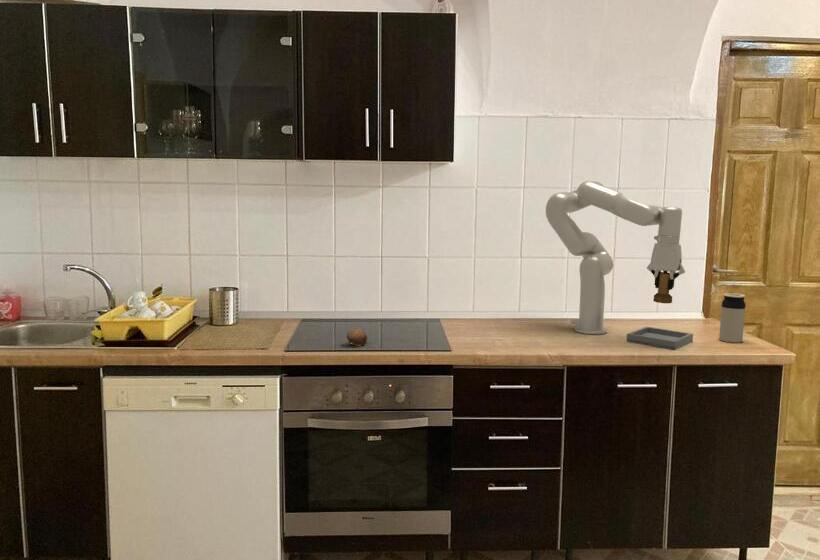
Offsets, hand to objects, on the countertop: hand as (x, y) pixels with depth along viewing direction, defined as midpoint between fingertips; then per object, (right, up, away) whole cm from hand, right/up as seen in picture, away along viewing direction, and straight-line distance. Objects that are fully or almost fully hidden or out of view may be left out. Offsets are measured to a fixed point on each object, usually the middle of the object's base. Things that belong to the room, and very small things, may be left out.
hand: (663, 288), depth 230 cm
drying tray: (0, -20, +3) cm, 21 cm away
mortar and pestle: (0, -5, +1) cm, 5 cm away
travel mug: (+28, -21, +5) cm, 35 cm away
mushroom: (-116, -21, -5) cm, 118 cm away
